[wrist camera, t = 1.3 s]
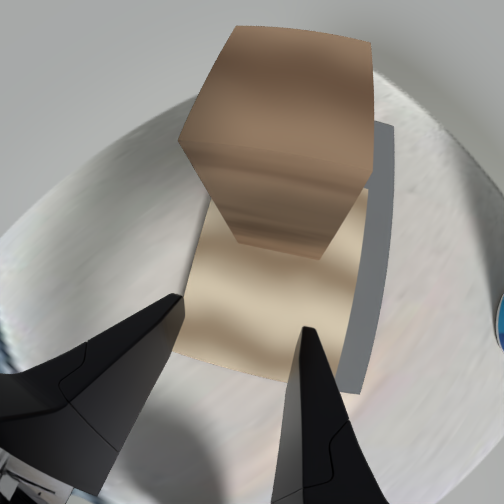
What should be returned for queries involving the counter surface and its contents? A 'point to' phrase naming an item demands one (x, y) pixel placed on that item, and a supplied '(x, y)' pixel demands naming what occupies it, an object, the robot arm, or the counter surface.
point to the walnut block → (284, 135)
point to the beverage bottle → (500, 324)
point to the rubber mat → (370, 265)
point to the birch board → (268, 298)
